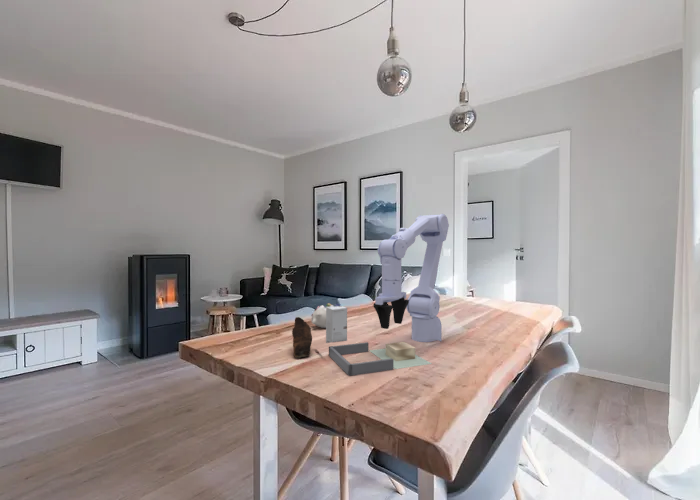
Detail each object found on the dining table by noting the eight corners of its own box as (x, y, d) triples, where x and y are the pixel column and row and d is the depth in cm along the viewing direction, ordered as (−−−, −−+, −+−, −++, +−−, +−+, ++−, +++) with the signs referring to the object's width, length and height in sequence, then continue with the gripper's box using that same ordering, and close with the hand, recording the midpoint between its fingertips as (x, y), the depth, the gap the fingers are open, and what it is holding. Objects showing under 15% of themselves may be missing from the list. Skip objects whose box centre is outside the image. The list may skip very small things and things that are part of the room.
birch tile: (403, 352, 97) (404, 341, 97) (415, 358, 91) (415, 347, 91) (385, 354, 95) (385, 344, 95) (395, 361, 89) (396, 350, 89)
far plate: (401, 351, 102) (401, 346, 102) (431, 369, 87) (431, 363, 87) (368, 355, 98) (368, 350, 98) (395, 374, 83) (395, 369, 83)
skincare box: (332, 346, 107) (332, 309, 107) (325, 343, 111) (325, 307, 111) (348, 343, 110) (348, 307, 110) (340, 340, 114) (340, 305, 114)
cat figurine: (332, 300, 142) (314, 301, 128) (346, 311, 139) (329, 313, 125) (320, 318, 143) (302, 321, 129) (334, 330, 140) (317, 334, 126)
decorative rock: (293, 347, 107) (293, 313, 107) (312, 346, 107) (312, 313, 107) (290, 359, 95) (290, 322, 95) (312, 359, 95) (312, 321, 95)
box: (367, 355, 98) (367, 342, 98) (393, 375, 83) (393, 359, 83) (328, 360, 94) (328, 346, 94) (348, 382, 79) (348, 365, 79)
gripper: (392, 277, 106) (392, 319, 106) (366, 281, 95) (366, 328, 95) (412, 278, 102) (412, 322, 102) (387, 282, 90) (387, 332, 90)
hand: (391, 325), depth 98 cm, fingers open, 7 cm apart
